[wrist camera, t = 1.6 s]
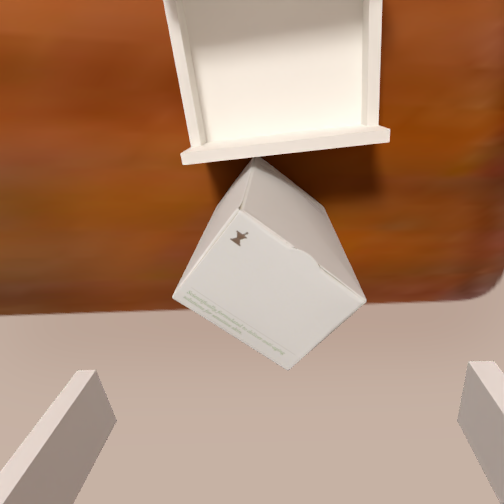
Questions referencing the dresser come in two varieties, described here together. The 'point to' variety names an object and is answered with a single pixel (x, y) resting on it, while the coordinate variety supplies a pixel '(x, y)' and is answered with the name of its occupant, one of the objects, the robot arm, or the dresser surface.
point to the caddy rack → (277, 75)
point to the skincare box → (271, 268)
